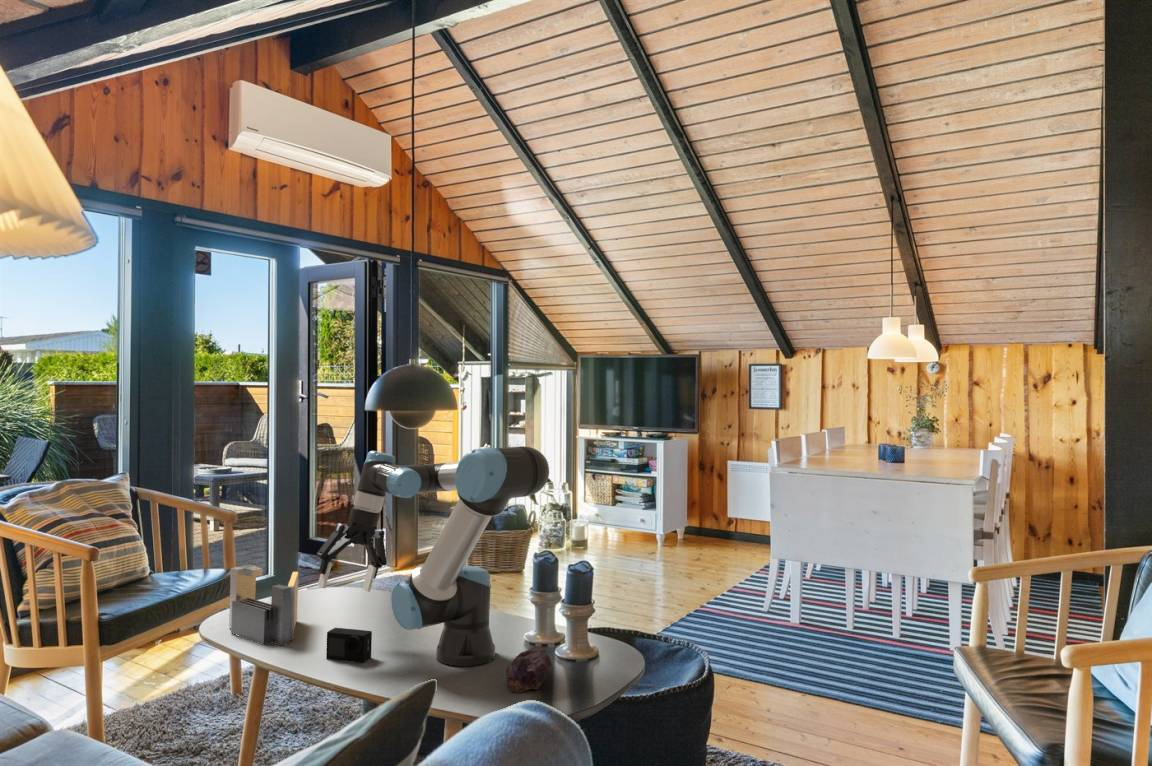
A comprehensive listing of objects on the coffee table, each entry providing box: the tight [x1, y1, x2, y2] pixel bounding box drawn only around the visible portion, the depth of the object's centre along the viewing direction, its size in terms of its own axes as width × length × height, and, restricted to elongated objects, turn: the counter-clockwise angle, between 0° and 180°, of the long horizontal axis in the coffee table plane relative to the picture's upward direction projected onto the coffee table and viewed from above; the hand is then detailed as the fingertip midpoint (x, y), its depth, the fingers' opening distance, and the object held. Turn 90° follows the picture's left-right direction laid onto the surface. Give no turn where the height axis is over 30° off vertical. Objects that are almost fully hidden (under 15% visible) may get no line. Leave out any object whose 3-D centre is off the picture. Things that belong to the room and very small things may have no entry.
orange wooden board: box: [287, 571, 299, 641], centre depth 222 cm, size 19×2×14 cm, turn 15°
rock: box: [505, 644, 552, 693], centre depth 184 cm, size 12×9×10 cm
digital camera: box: [325, 627, 373, 664], centre depth 200 cm, size 10×5×7 cm, turn 77°
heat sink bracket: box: [228, 564, 291, 646], centre depth 218 cm, size 24×8×17 cm, turn 55°
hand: (344, 588), depth 207 cm, fingers open, 13 cm apart
